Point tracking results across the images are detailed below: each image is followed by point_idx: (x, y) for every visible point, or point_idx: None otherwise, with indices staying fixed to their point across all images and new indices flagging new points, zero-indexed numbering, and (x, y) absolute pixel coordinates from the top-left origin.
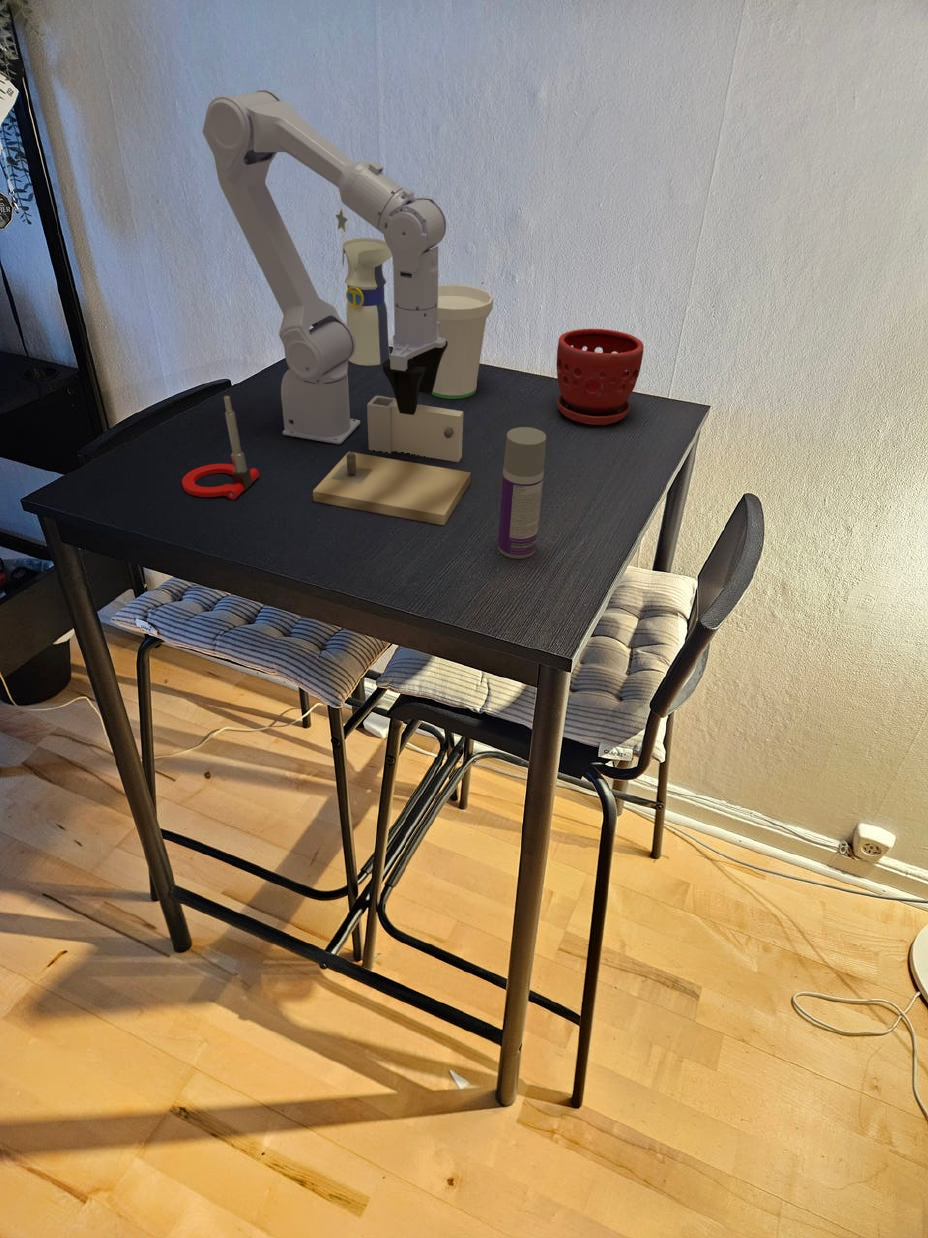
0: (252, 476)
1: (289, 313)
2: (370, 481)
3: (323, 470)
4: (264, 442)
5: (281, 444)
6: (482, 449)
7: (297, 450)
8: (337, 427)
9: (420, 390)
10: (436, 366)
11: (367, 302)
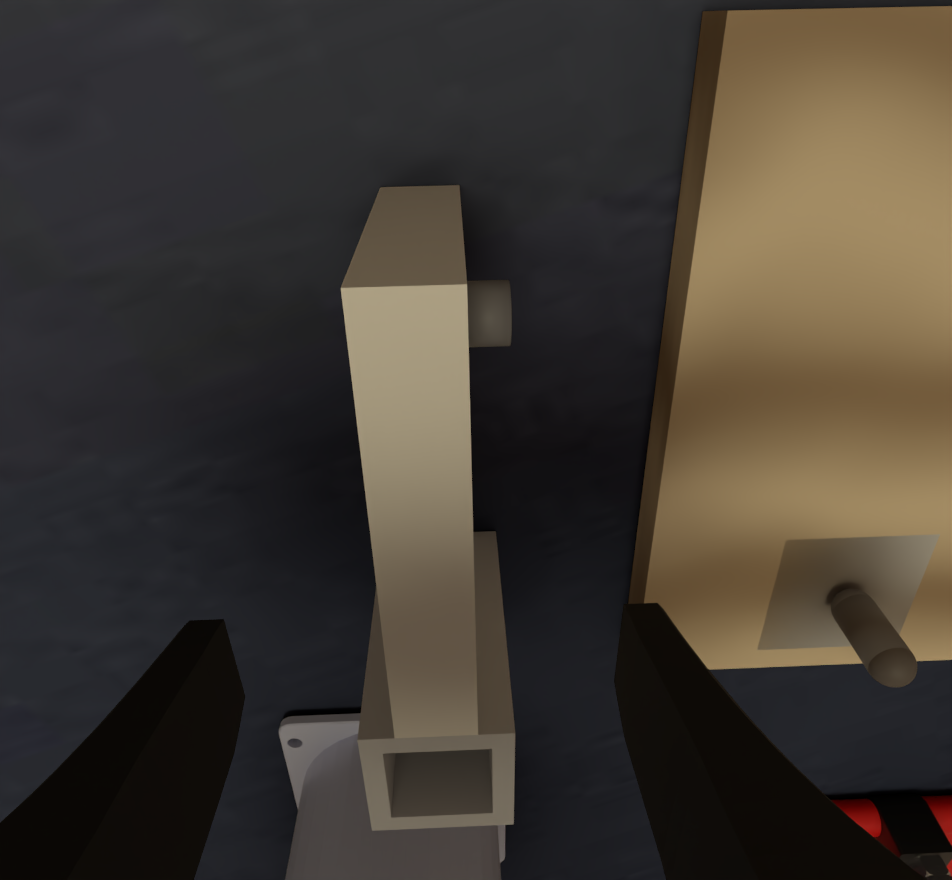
0: (867, 818)
1: None
2: (906, 510)
3: (722, 678)
4: (567, 864)
5: (563, 830)
6: (211, 82)
7: (590, 785)
8: None
9: (236, 692)
10: (105, 824)
11: None
